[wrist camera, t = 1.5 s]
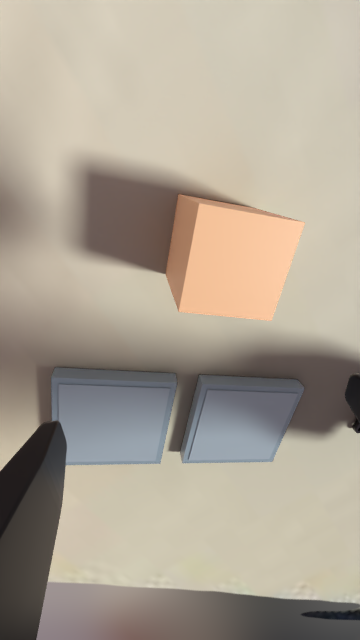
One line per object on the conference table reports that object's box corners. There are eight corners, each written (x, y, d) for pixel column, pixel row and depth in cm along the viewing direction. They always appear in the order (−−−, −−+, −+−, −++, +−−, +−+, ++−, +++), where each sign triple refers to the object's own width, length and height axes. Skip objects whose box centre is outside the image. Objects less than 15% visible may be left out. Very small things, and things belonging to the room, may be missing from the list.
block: (255, 208, 18) (305, 222, 13) (235, 282, 21) (271, 320, 15) (178, 194, 17) (199, 203, 12) (165, 274, 20) (178, 311, 14)
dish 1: (175, 373, 23) (177, 383, 22) (159, 452, 27) (160, 464, 26) (55, 367, 21) (50, 378, 20) (55, 452, 25) (52, 466, 24)
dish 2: (297, 379, 26) (305, 389, 24) (266, 451, 29) (272, 462, 28) (199, 374, 24) (202, 384, 23) (180, 451, 28) (182, 464, 26)
